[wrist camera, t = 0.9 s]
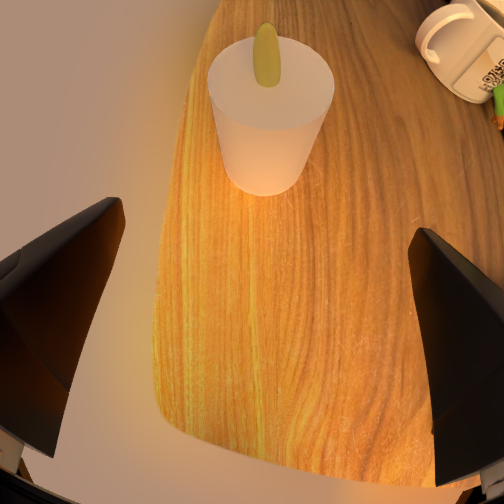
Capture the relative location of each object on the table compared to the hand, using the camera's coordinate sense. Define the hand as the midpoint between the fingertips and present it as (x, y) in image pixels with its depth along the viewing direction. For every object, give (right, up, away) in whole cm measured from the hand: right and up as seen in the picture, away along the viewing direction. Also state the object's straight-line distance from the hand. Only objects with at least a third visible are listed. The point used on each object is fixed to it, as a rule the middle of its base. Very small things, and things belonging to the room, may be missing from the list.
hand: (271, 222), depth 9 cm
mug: (+22, +20, +17) cm, 34 cm away
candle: (0, +6, +16) cm, 17 cm away
